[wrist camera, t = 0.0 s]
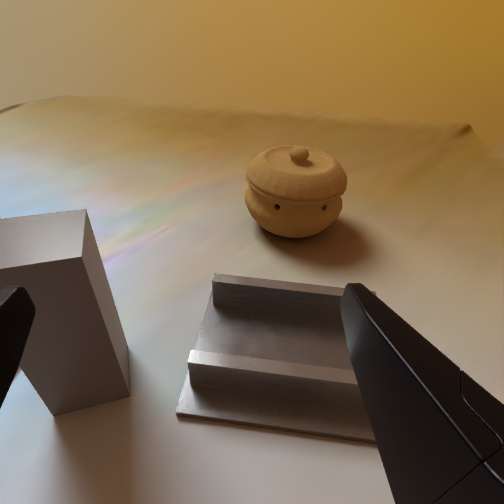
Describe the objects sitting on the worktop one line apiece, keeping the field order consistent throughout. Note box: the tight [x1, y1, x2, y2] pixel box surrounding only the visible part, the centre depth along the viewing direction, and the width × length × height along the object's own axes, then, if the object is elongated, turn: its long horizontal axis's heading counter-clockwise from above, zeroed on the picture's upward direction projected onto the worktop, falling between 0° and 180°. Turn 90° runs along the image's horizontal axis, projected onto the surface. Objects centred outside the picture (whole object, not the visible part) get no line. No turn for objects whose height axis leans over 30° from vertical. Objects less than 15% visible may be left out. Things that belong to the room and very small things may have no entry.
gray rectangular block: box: [0, 209, 130, 416], centre depth 21 cm, size 5×5×13 cm
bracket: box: [176, 274, 376, 443], centre depth 27 cm, size 13×15×4 cm
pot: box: [245, 145, 347, 238], centre depth 40 cm, size 12×12×10 cm
